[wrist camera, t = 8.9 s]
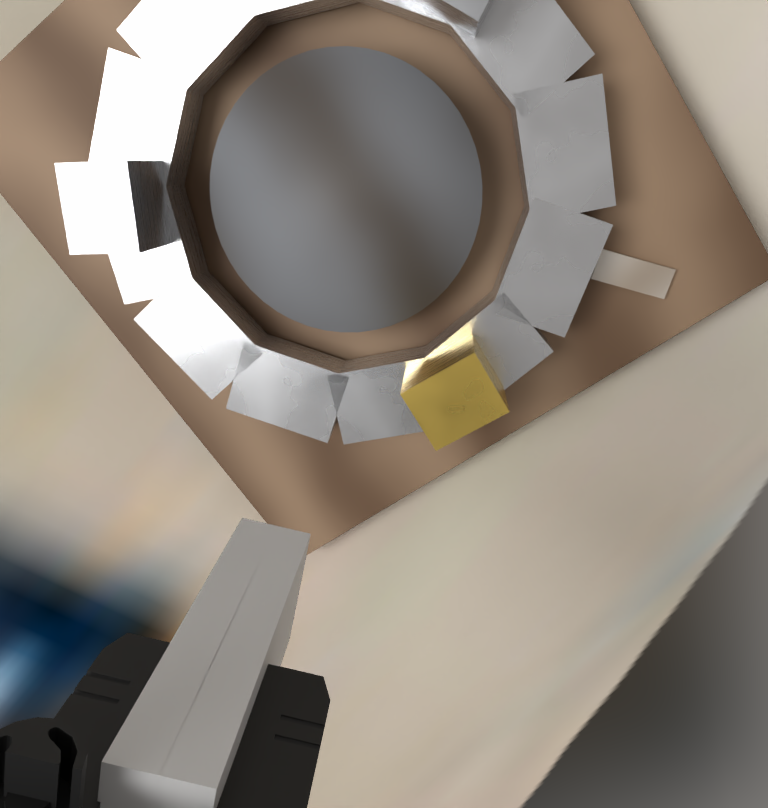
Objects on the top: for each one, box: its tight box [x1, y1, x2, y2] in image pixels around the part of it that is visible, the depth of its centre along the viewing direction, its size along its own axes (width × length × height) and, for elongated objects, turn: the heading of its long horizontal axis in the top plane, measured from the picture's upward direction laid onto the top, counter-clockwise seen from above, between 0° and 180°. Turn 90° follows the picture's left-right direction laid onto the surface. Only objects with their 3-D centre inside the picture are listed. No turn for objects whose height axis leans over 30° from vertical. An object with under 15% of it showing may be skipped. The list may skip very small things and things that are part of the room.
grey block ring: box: [54, 0, 616, 451], centre depth 26 cm, size 19×19×5 cm
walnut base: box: [0, 0, 768, 555], centre depth 28 cm, size 24×24×4 cm
